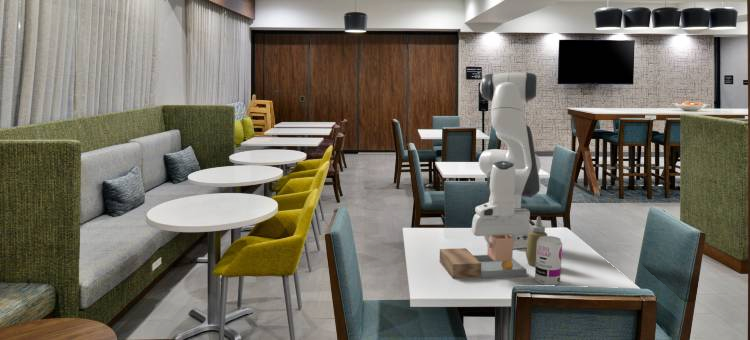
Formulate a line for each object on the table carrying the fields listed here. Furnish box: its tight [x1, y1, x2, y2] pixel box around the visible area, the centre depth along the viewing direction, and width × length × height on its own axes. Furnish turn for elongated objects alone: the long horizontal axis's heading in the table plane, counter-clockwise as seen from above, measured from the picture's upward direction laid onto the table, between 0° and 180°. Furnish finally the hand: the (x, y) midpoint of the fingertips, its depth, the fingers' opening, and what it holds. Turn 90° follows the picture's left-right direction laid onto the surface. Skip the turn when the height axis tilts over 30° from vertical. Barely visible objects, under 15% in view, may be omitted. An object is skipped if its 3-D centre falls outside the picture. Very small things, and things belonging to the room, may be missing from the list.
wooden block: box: [439, 247, 481, 279], centre depth 205 cm, size 10×18×5 cm, turn 8°
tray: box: [472, 254, 527, 279], centre depth 206 cm, size 16×18×2 cm
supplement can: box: [534, 235, 563, 286], centre depth 192 cm, size 8×8×15 cm
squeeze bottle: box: [525, 216, 548, 267], centre depth 210 cm, size 8×8×18 cm
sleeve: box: [486, 235, 514, 261], centre depth 201 cm, size 6×8×8 cm
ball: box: [502, 261, 513, 270], centre depth 202 cm, size 4×4×4 cm
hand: (500, 247), depth 201 cm, fingers closed on sleeve, 6 cm apart
